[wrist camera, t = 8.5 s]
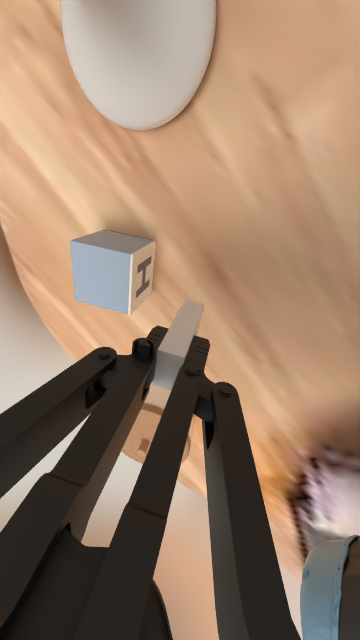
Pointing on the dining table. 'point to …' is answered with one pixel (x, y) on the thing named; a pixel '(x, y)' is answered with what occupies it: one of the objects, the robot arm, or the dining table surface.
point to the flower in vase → (139, 55)
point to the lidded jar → (150, 426)
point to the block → (113, 270)
